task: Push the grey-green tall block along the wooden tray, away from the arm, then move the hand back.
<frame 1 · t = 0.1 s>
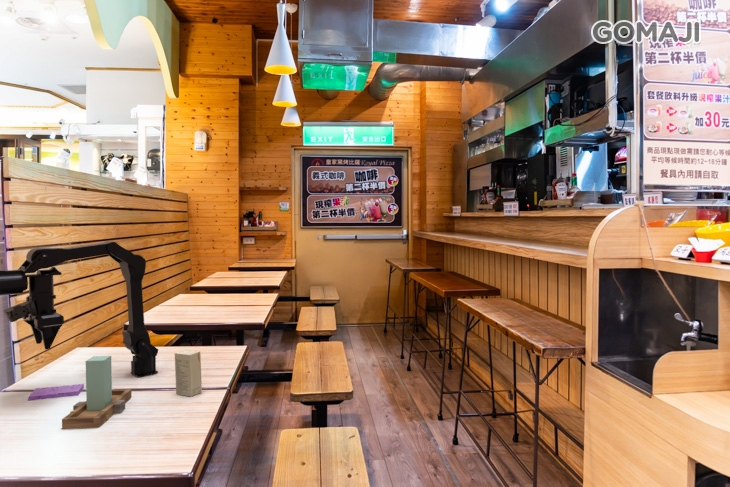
hand: (43, 346, 132), 15 cm above the table, tool pointing down, fingers open, 9 cm apart
skincare box: (188, 393, 136), on the table
sponges: (56, 396, 135), on the table
grey-green tall block: (99, 382, 122), point 8 cm above the table, slide at 0.0 cm
wooden tray: (99, 411, 122), on the table
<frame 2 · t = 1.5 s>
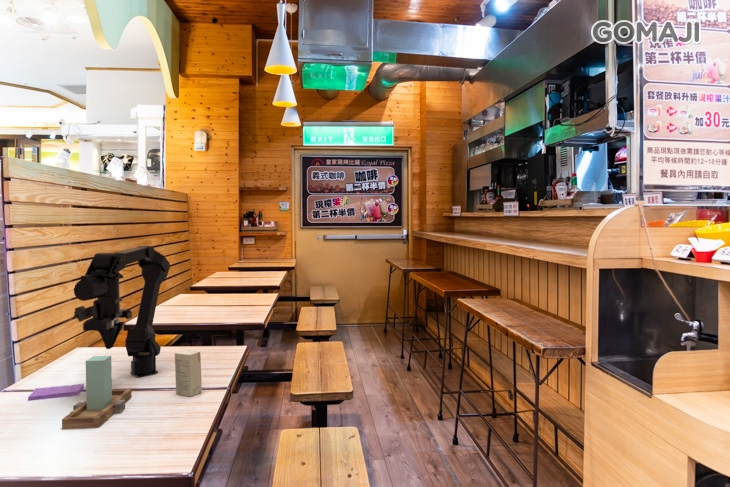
hand: (109, 348, 136), 13 cm above the table, tool pointing down, fingers closed
nothing on the table moved.
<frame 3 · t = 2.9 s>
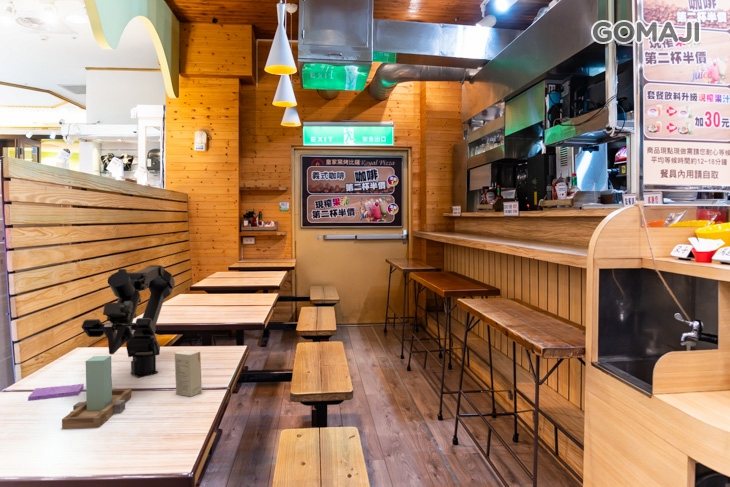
hand: (111, 353, 129), 13 cm above the table, tool tilted 45°, fingers closed
nothing on the table moved.
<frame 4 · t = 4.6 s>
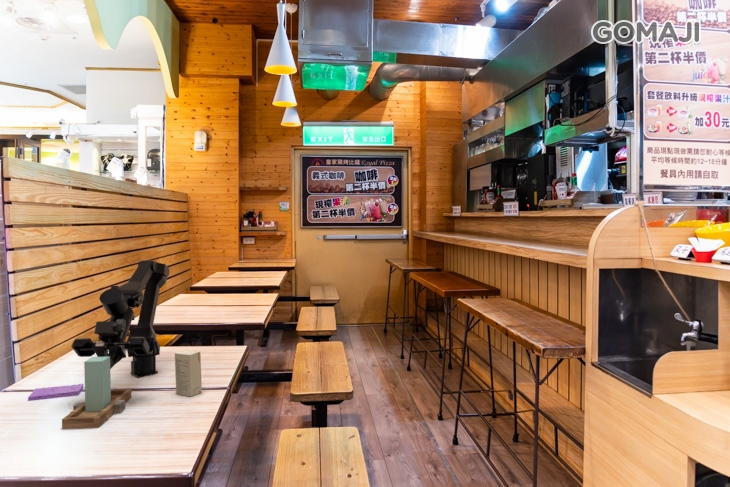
hand: (102, 374, 123), 9 cm above the table, tool tilted 45°, fingers closed, pressing on grey-green tall block
grey-green tall block: (97, 383, 121), point 8 cm above the table, slide at 0.7 cm, touching gripper
everything else where it was.
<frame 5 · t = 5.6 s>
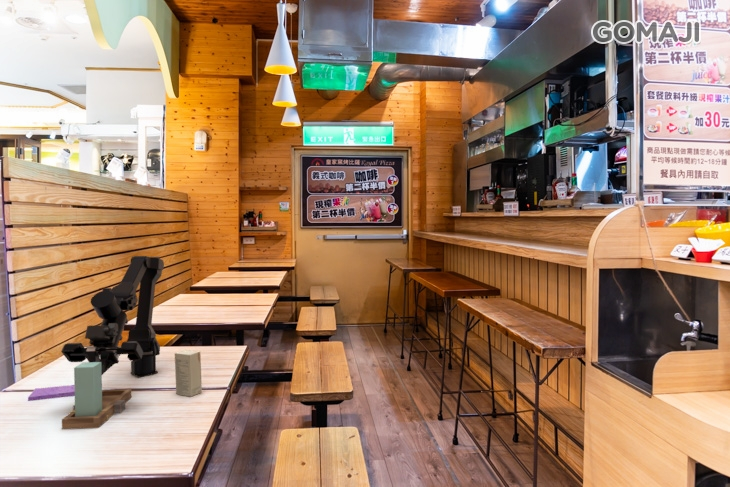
hand: (93, 381, 118), 9 cm above the table, tool tilted 45°, fingers closed, pressing on grey-green tall block
grey-green tall block: (88, 390, 116), point 8 cm above the table, slide at 5.7 cm, touching gripper
everything else where it was.
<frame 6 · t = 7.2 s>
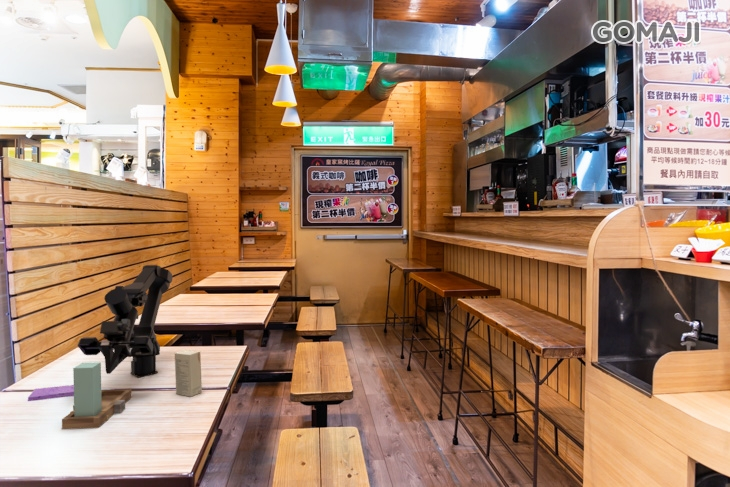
hand: (107, 373, 127), 9 cm above the table, tool tilted 45°, fingers closed
grey-green tall block: (87, 390, 116), point 8 cm above the table, slide at 6.1 cm
everything else where it was.
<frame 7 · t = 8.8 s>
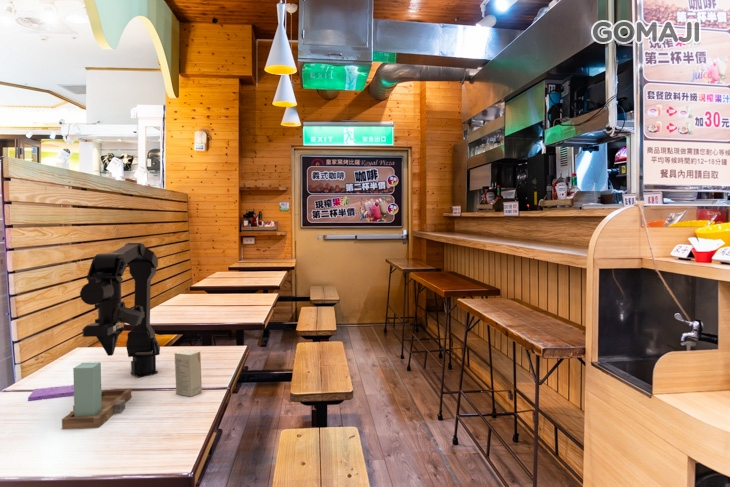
hand: (110, 355, 128), 13 cm above the table, tool pointing down, fingers closed
nothing on the table moved.
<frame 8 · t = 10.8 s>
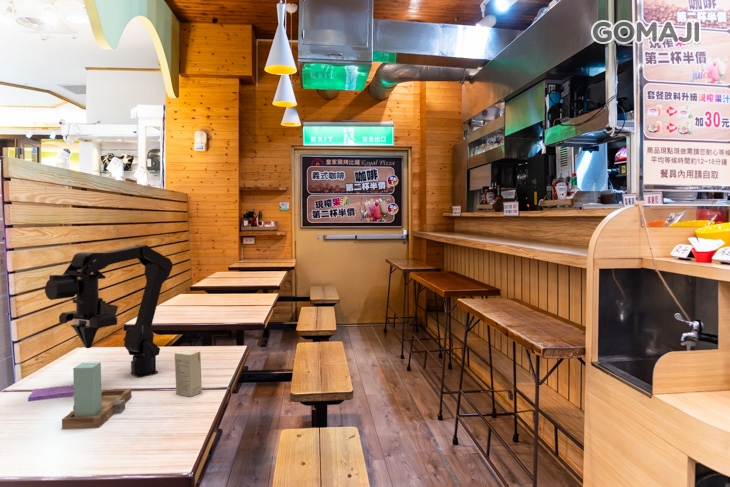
hand: (88, 347, 136), 13 cm above the table, tool pointing down, fingers closed
nothing on the table moved.
at the end: grey-green tall block slide at 6.1 cm; grey-green tall block moved 6.1 cm from its start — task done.
